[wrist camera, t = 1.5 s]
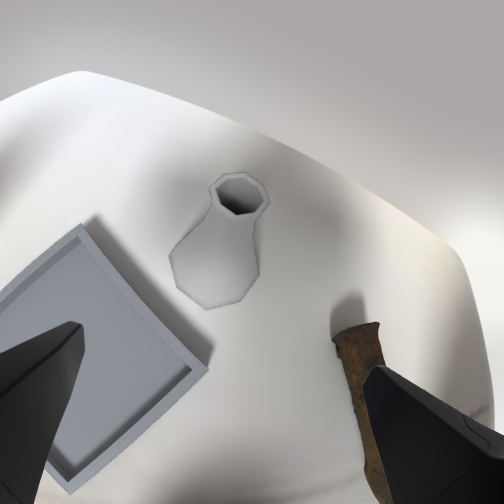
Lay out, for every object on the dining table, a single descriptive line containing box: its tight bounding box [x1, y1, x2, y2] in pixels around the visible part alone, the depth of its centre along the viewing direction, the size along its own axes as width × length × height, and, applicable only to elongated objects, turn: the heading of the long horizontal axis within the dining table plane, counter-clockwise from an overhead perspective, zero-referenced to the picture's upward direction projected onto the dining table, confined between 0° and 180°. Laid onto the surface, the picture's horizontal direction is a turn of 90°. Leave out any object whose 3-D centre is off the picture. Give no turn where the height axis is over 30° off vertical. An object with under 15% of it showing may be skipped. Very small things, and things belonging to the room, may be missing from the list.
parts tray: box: [0, 223, 209, 495], centre depth 17 cm, size 15×15×2 cm
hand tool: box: [332, 322, 393, 504], centre depth 19 cm, size 19×4×5 cm, turn 10°
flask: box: [168, 172, 270, 310], centre depth 20 cm, size 7×7×10 cm
